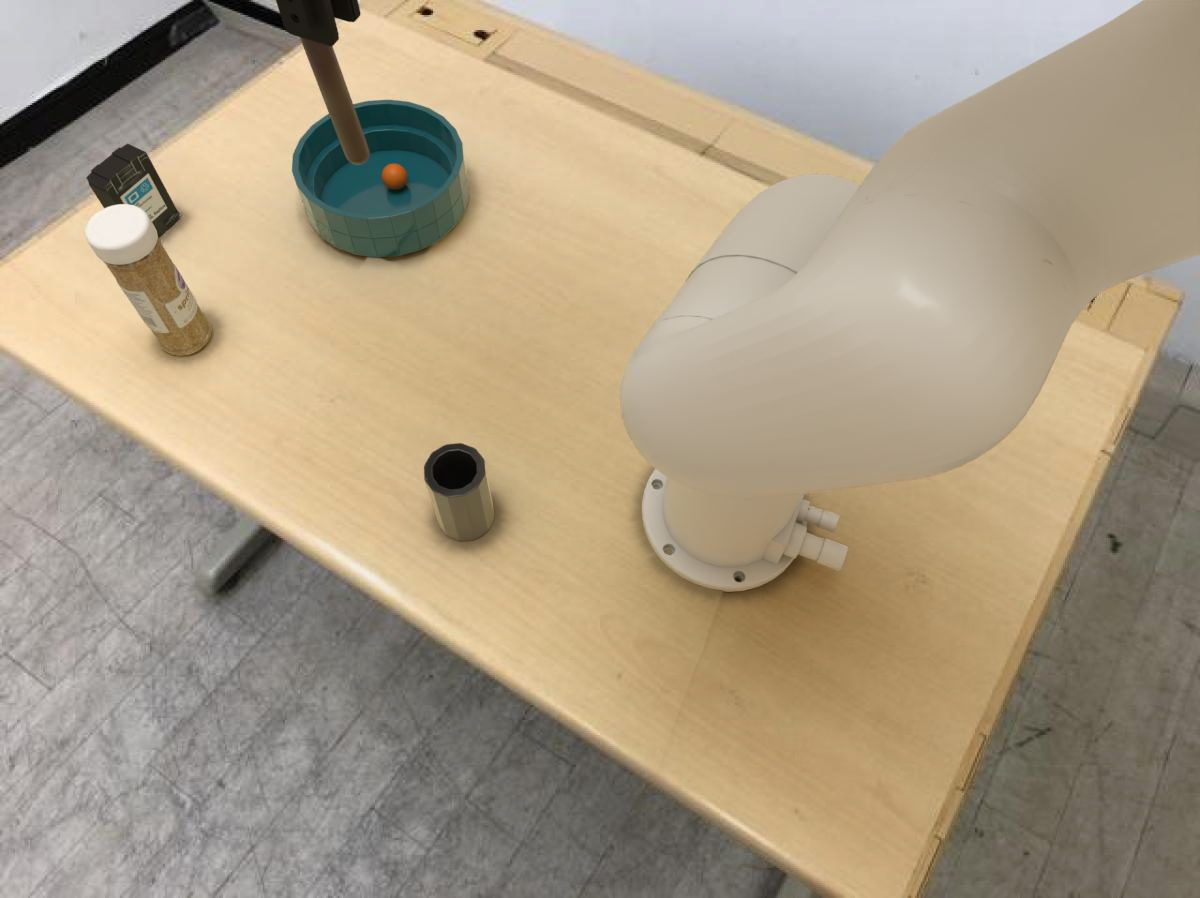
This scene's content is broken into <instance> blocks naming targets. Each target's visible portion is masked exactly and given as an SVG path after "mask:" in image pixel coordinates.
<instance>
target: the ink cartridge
mask: <svg viewBox="0 0 1200 898" xmlns="http://www.w3.org/2000/svg"><path fill="white" fill-rule="evenodd" d="M85 179H86V180H87V182H88V185H89V187H90V189H91V191H92V192H93V193H94V195H95V196H96V198H97V199H98V201H99V202H100V204H101V206H102V208H103V209H104V208H106V207H109V206H113V205H118V204H129V205H134V206H137V207H139V208H141V209H142V210H143V211H145V212H146V214H147V215H148V217H149V218H150V220H151V221H152V223H153V225H154V227H155V228H156V230H157V234H158V239H160V237H161V236H162V235H163V234H164V233H166V232H167V231H168V230H169V229H170V228H172V226H174V225H175V224H176V223H177V222H178V220H179V219H180V214H181V213H180V211H179V210H178V209H177V206H176V205H175V203H174V201H173V200H172V198H171V195H170V194H169V192H168V190H167V188H166V186H165V184H164V182H163V181H162V179H161V177H160V175H159V173H158V171H157V169H156V168H155V165H154V164H153V162H152V160H151V158H150V157H149V154H148V153H147V151H145V150H143V149H140V148H138V147H136V146H134V145H132V144H130V143H126V144H124V145H123V146H122V147H120V146H119V147H118V148H117V149H115V150H113V151H112V152H111V154H110V155H109V156H107V157H106V158H105V159H104V160H102V162H100V163H99V164H97V165H95V166H94V167H93V168H92V169H91V170H90V172H89V174H88V175H87V176H86V177H85Z"/></svg>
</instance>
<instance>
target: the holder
mask: <svg viewBox="0 0 1200 898" xmlns="http://www.w3.org/2000/svg"><path fill="white" fill-rule="evenodd" d="M488 475H489V474H488V470H487V466H486V460H485V458H484V457H483V455H482V454H481V453H480V452H479V451H478V450H477V448H475V447H473V446H470V445H468V444H465V443H462V442H457V443H449V444H448V443H446V444H444V445H442V446H440V447H439V448H437V449H436V450H433V451H432V452H431V453H430V454H429V456H428V458H427V459H426V461H425V463H424V465H423V479H424V483H425V486H426V489H427V493H428V495H429V498H430V501H431V505H432V508H433V511H434V514H435V517H436V520H437V523H438V526H439V528H440V529H441V530H442V532H443V533H444V534H445V536H446V537H449V538H450V539H452V540H456V541H458V542H471V541H475V540H477V539H479V538H481V537H483V536H484V535H485V534H486V533H488V532H489V530H490V529H491V528H492V525H493V523H494V521H495V510H494V503H493V502H494V501H493V497H492V492H491V486H490V481H489V476H488Z"/></svg>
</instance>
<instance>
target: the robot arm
mask: <svg viewBox="0 0 1200 898" xmlns="http://www.w3.org/2000/svg"><path fill="white" fill-rule="evenodd" d="M275 2H276V5H277V9H278V11H279V12H278V13H279V15H280V18H281V21H282V25H283V28H284V29H285V31H286V32H287V33H288V34H290V35H292V36H295V37H298V38H300V37H301V38H304V39H308V40H311V41H314V42H318V43H321V44H324V45H327V46H335V44H336V43H337V42H338V41H339V40H340V37H339V34H340V33H339V30H338V26H337V22H336V19H338V20H341V21H344V22H348V23H355V22H356V21H357V20H358V19H359V18H360V17H361V15H362V14H361V9H360V4H359V0H275ZM1197 256H1200V0H1141V1H1139V2H1138V3H1136V4H1135V5H1133V6H1132V7H1130V8H1129V9H1127V10H1126V11H1124V12H1122V13H1121V14H1119V15H1118V16H1116V17H1115V18H1113V19H1111V20H1109V21H1108V22H1106V23H1105V24H1103V25H1101V26H1099V27H1097V28H1096V29H1093V30H1092V31H1089V32H1088V33H1086V34H1085V35H1083V36H1081V37H1078V38H1077V39H1074V40H1073V41H1071V42H1069V43H1068V44H1066V45H1064V46H1062V47H1060V48H1058V49H1056V50H1054V51H1052V52H1050V53H1049V54H1047V55H1044V56H1043V57H1041V58H1039V59H1038V60H1036V61H1034V62H1032V63H1030V64H1028V65H1026V66H1025V67H1022V68H1021V69H1019V70H1017V71H1015V72H1014V73H1012V74H1009V75H1008V76H1006V77H1004V78H1002V79H1000V80H998V81H996V82H995V83H993V84H990V85H989V86H987V87H986V88H984V89H982V90H980V91H978V92H976V93H974V94H972V95H970V96H968V97H967V98H964V99H962V100H960V101H958V102H957V103H954V104H952V105H951V106H949V107H947V108H945V109H942V110H941V111H939V112H937V113H934V114H933V115H931V116H930V117H928V118H926V119H924V120H923V121H921V122H920V123H918V124H916V125H915V126H913V127H911V128H910V129H908V130H907V131H906V132H905V133H903V134H902V135H901V136H900V137H898V138H897V139H896V140H895V141H894V142H893V143H892V144H891V145H890V146H889V147H888V148H887V149H886V150H885V151H884V153H883V154H882V155H881V156H880V157H879V158H878V160H877V161H876V163H875V164H874V165H873V166H872V168H871V169H870V171H869V172H868V173H867V175H866V176H865V177H864V179H863V180H862V181H861V183H860V184H859V183H858V182H855V181H854V180H850V179H848V178H845V177H842V176H840V175H833V174H829V173H808V174H801V175H796V176H792V177H789V178H785V179H782V180H780V181H777V183H774V184H772V185H770V186H768V187H767V188H765V189H764V190H762V191H760V192H759V193H758V194H757V195H755V196H754V197H752V199H750V200H749V202H747V203H746V204H745V205H744V206H742V207H741V209H740V210H739V211H738V212H737V213H736V214H735V216H734V217H732V218H731V220H730V221H729V222H728V223H727V225H726V226H725V227H724V229H722V230H721V232H720V233H719V235H717V237H716V239H715V240H714V241H713V242H712V244H710V247H709V248H708V249H707V250H706V252H705V253H704V254H703V256H702V257H701V258H700V260H699V261H698V262H697V264H696V265H695V266H694V268H693V269H692V270H691V271H690V273H689V274H688V277H687V278H686V279H685V281H684V284H682V286H681V287H680V289H679V290H678V291H677V293H676V294H675V295H674V297H672V299H671V301H669V303H668V304H667V306H665V308H664V310H663V311H662V312H661V314H660V315H659V316H658V318H657V319H656V320H655V322H654V323H653V324H652V325H651V327H649V330H648V331H647V332H646V333H645V335H644V336H643V338H642V339H641V340H640V342H639V343H638V345H637V346H636V348H635V349H634V351H633V353H632V354H631V356H630V357H629V359H628V361H627V363H626V365H625V368H624V370H623V374H622V376H621V380H620V387H619V409H620V413H621V414H620V415H621V418H622V422H623V426H624V428H625V431H626V433H627V436H628V438H629V440H630V441H631V443H632V444H633V446H634V448H635V449H636V450H637V451H638V453H639V454H640V455H641V457H642V458H643V459H644V460H645V461H646V462H647V463H648V464H649V465H650V466H651V467H652V468H654V470H653V471H652V472H651V474H650V476H649V477H648V479H647V482H646V485H645V487H644V490H643V495H642V501H641V520H642V526H643V530H644V532H645V535H646V538H647V541H648V543H649V544H650V546H651V548H652V550H653V551H654V553H655V554H656V556H657V557H658V558H659V559H660V560H661V561H662V563H664V564H665V566H666V567H667V568H669V569H670V570H671V571H672V572H673V573H675V574H676V575H678V576H680V578H682V579H684V580H686V581H689V582H691V583H693V584H695V585H698V586H701V587H704V588H707V589H712V590H718V591H719V590H720V591H722V592H727V593H729V592H744V591H747V590H752V589H755V588H760V587H761V586H763V585H766V584H767V583H769V582H772V581H774V580H775V579H776V578H778V577H779V576H780V575H782V573H784V572H785V571H786V569H787V568H788V567H789V566H790V565H791V564H792V563H793V562H794V560H796V559H797V558H798V556H801V557H804V558H806V559H809V560H811V561H814V562H815V563H817V564H819V565H822V566H825V567H827V568H830V569H833V570H836V571H838V572H840V571H841V569H842V568H843V565H844V563H845V561H846V559H847V555H848V552H849V546H848V545H845V544H843V543H840V542H838V541H835V540H833V539H830V538H827V537H824V538H823V537H820V536H818V535H815V534H813V533H810V532H808V531H807V530H808V525H807V524H808V523H809V524H811V525H814V526H816V527H817V528H820V529H822V530H825V531H827V532H831V533H834V532H835V531H836V529H837V526H838V524H839V521H840V518H841V515H840V514H837V513H835V512H832V511H830V510H827V509H822V508H821V509H820V508H819V507H815V506H813V505H811V501H810V500H807V499H804V497H805V495H806V494H815V493H823V492H829V491H830V492H831V491H840V490H847V489H856V488H863V487H870V486H879V485H885V484H893V483H894V484H895V483H903V482H908V481H915V480H921V479H926V478H930V477H934V476H939V475H943V474H945V473H948V472H951V471H954V470H956V469H959V468H962V467H963V466H965V465H968V464H969V463H971V462H973V461H975V460H976V459H978V458H980V457H982V456H983V455H985V454H986V453H988V452H989V451H991V450H992V449H994V448H995V447H996V446H998V445H999V444H1000V443H1002V442H1003V441H1004V440H1005V439H1006V438H1007V437H1008V436H1010V434H1011V433H1012V432H1013V431H1014V430H1015V429H1016V428H1017V426H1019V425H1020V423H1021V422H1022V421H1023V420H1024V418H1025V417H1026V416H1027V414H1028V412H1029V411H1030V410H1031V408H1032V406H1033V404H1034V403H1035V401H1036V399H1037V398H1038V397H1039V395H1040V393H1041V391H1042V389H1043V387H1044V385H1045V383H1046V380H1047V379H1048V377H1049V374H1050V372H1051V370H1052V368H1053V366H1054V364H1055V362H1056V360H1057V357H1058V355H1059V353H1060V351H1061V350H1062V347H1063V345H1064V342H1065V340H1066V337H1067V335H1068V333H1069V332H1070V329H1071V327H1072V325H1074V323H1075V321H1076V319H1078V317H1079V316H1080V314H1081V313H1082V312H1083V311H1084V310H1085V308H1086V307H1088V305H1089V304H1090V303H1091V302H1092V301H1093V300H1094V299H1095V298H1096V297H1097V296H1099V294H1101V293H1103V292H1105V291H1107V290H1109V289H1111V288H1114V287H1115V286H1117V285H1119V284H1121V283H1123V282H1126V281H1128V280H1131V279H1135V278H1137V277H1139V276H1142V275H1145V274H1147V273H1150V272H1153V271H1157V270H1159V269H1162V268H1165V267H1169V266H1171V265H1174V264H1177V263H1180V262H1183V261H1185V260H1188V259H1191V258H1192V259H1193V258H1194V257H1197ZM655 486H658V487H659V488H655ZM667 550H669V551H671V554H667V553H666V551H667ZM736 579H739V581H737V580H736Z"/></svg>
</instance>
